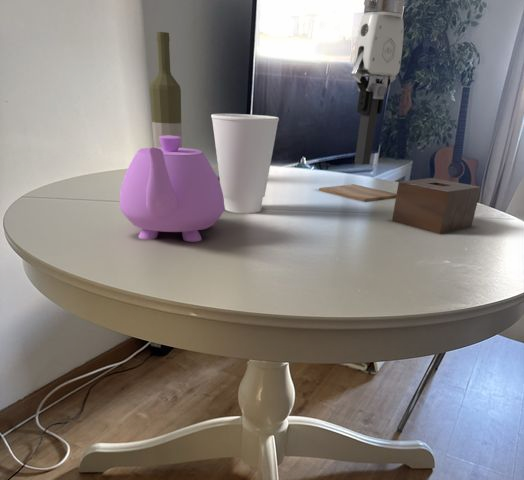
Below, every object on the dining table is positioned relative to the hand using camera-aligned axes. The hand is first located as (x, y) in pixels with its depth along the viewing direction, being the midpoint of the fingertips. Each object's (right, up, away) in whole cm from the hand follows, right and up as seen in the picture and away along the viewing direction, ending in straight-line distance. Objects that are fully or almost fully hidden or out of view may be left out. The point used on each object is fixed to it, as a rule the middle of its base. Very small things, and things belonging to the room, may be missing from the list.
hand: (369, 112), depth 103 cm
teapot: (-37, -33, -29) cm, 57 cm away
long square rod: (-1, -9, +5) cm, 10 cm away
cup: (-27, -25, -12) cm, 38 cm away
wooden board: (-1, -15, +8) cm, 17 cm away
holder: (+8, -28, -15) cm, 33 cm away
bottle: (-46, -9, +15) cm, 49 cm away
